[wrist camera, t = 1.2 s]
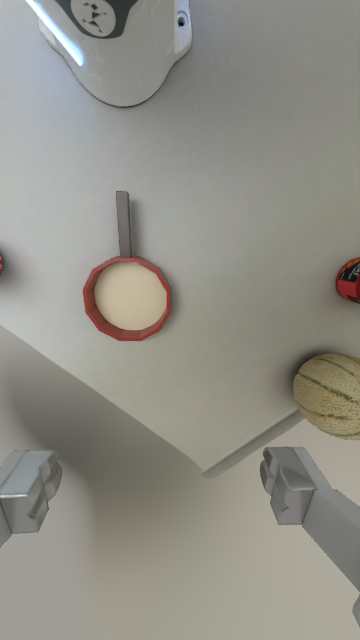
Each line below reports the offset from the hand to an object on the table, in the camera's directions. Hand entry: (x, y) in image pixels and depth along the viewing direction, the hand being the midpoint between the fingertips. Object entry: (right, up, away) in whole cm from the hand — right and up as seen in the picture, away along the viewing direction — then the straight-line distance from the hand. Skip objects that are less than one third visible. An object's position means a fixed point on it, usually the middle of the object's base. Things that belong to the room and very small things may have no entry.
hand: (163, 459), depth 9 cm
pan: (-8, +14, +29) cm, 33 cm away
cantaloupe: (+29, -5, +38) cm, 48 cm away
